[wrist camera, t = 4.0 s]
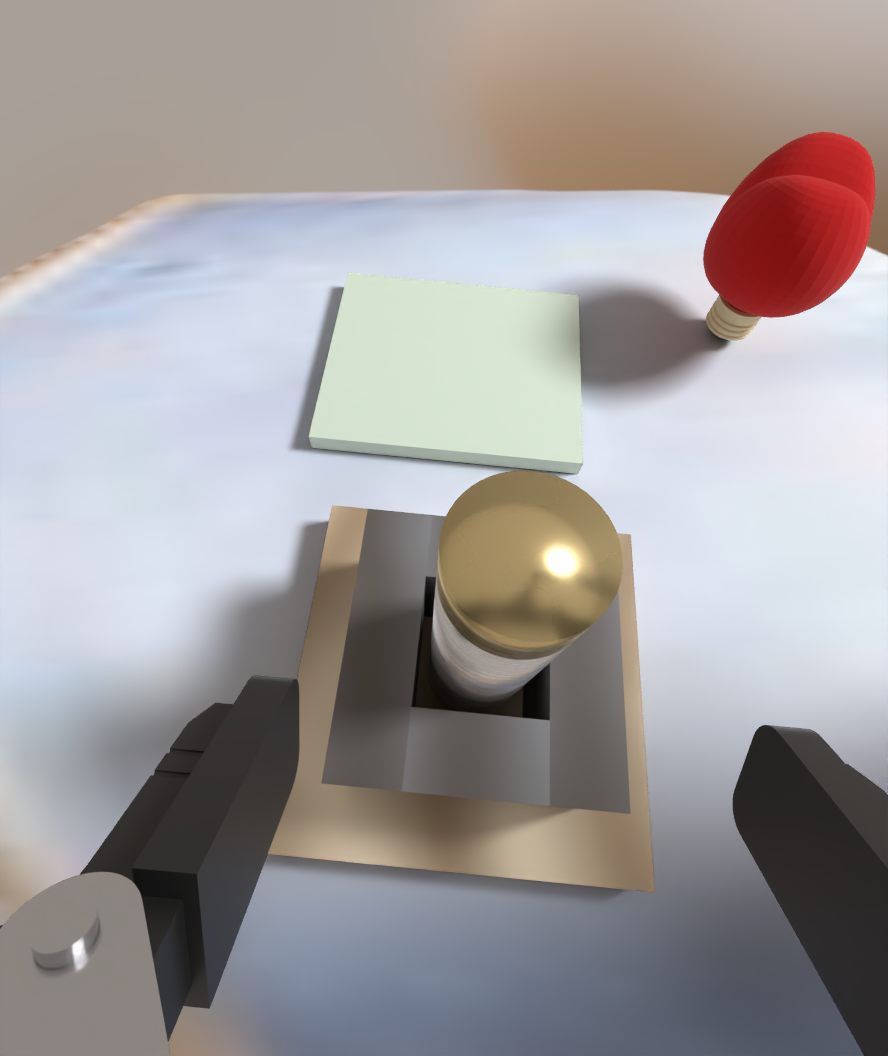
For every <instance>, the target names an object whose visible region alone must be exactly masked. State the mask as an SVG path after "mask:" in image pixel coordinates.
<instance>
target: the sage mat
mask: <svg viewBox="0 0 888 1056" xmlns="http://www.w3.org/2000/svg"><path fill="white" fill-rule="evenodd" d="M309 440H310V443H311V446H312V448H319V449H329V450H340V451H350V452H360V453H370V454H381V455H391V456H401V457H411V458H422V459H432V460H442V461H452V462H462V463H473V464H483V465H493V466H503V467H514V468H524V469H534V470H544V471H554V472H565V473H575V474H578V472H579V471H580V469H581V467H582V465H583V442H582V404H581V367H580V330H579V295H573V294H563V293H553V292H542V291H532V290H522V289H512V288H501V287H491V286H481V285H470V284H460V283H450V282H440V281H429V280H419V279H409V278H398V277H388V276H378V275H367V274H357V273H348V274H347V278H346V282H345V286H344V290H343V295H342V299H341V303H340V307H339V311H338V316H337V320H336V324H335V328H334V332H333V336H332V341H331V345H330V349H329V353H328V357H327V362H326V366H325V370H324V374H323V378H322V382H321V387H320V391H319V395H318V399H317V403H316V407H315V412H314V416H313V420H312V424H311V428H310V433H309Z"/></svg>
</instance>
